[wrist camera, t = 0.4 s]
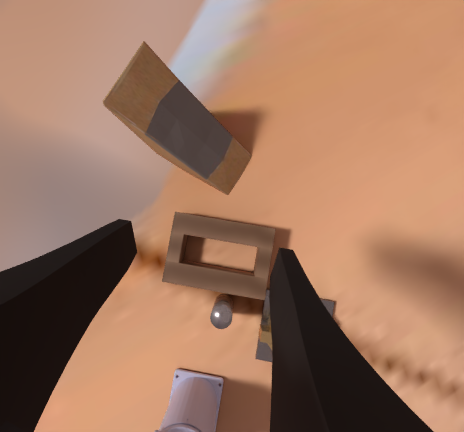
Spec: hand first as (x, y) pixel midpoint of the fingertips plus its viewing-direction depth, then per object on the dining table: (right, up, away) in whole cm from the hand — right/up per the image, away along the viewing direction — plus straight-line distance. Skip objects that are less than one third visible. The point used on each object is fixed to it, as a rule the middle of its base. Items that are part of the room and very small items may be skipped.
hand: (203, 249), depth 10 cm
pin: (0, -13, +25) cm, 28 cm away
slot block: (-1, -5, +26) cm, 26 cm away
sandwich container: (-4, +12, +27) cm, 30 cm away
